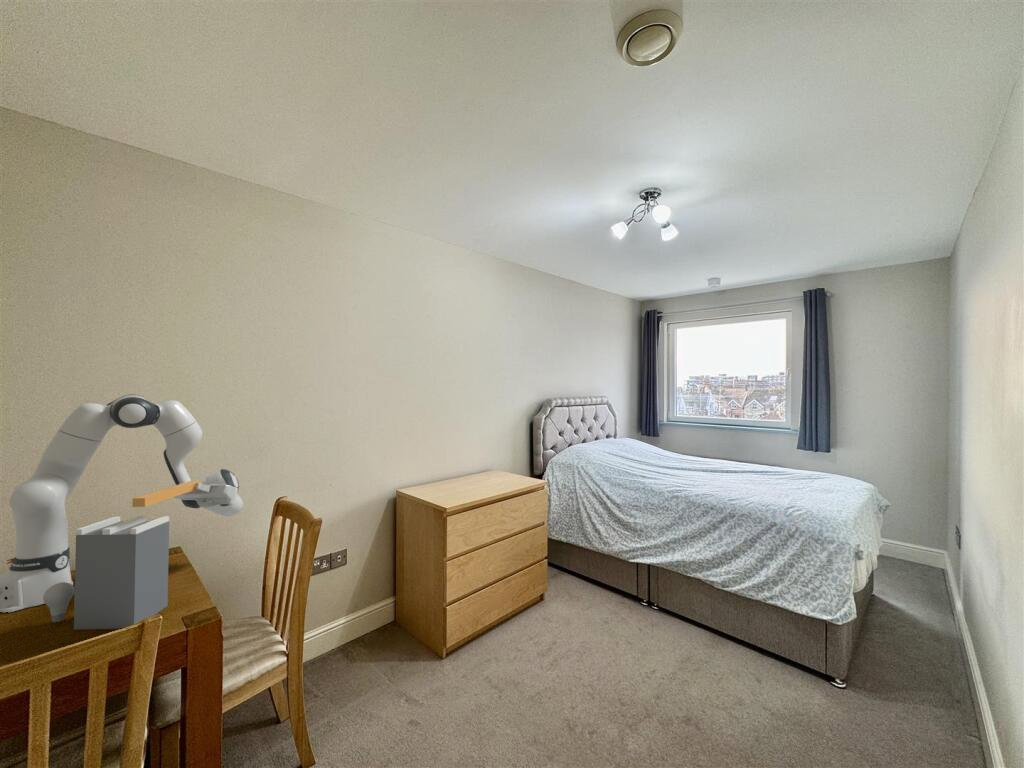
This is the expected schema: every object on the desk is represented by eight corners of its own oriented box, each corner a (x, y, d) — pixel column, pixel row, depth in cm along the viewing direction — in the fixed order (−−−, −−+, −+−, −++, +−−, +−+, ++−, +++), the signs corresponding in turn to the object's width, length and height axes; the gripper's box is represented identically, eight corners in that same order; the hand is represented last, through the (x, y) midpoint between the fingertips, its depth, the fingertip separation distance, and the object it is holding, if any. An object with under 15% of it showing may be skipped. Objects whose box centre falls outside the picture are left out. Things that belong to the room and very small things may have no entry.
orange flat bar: (132, 506, 122) (132, 498, 122) (191, 487, 146) (191, 480, 146) (144, 506, 122) (145, 498, 122) (201, 487, 146) (201, 480, 146)
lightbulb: (39, 630, 115) (40, 590, 115) (46, 620, 120) (47, 582, 120) (70, 623, 118) (71, 584, 118) (76, 614, 123) (77, 576, 123)
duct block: (73, 629, 115) (76, 529, 116) (113, 607, 127) (115, 516, 128) (133, 628, 116) (136, 528, 116) (167, 606, 128) (169, 516, 128)
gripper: (186, 488, 156) (161, 476, 144) (242, 488, 157) (222, 476, 145) (179, 505, 152) (153, 494, 140) (237, 505, 153) (216, 494, 141)
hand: (188, 485), depth 143 cm, fingers closed on orange flat bar, 3 cm apart
